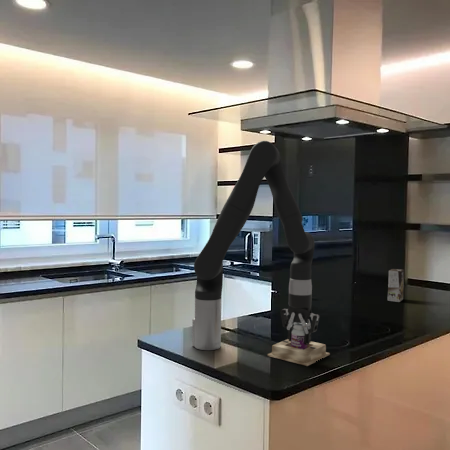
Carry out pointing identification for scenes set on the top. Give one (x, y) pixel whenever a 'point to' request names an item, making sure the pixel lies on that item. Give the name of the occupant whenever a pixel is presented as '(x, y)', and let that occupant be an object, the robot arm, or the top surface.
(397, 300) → the coffee box
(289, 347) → the holder
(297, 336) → the pill bottle
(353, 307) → the top surface
